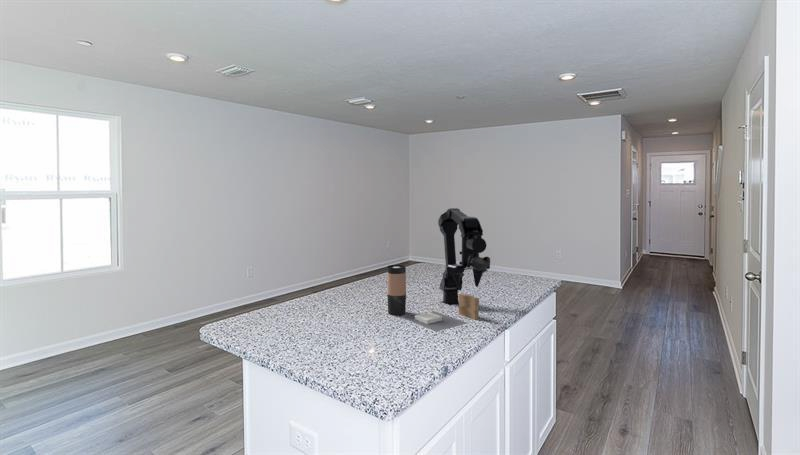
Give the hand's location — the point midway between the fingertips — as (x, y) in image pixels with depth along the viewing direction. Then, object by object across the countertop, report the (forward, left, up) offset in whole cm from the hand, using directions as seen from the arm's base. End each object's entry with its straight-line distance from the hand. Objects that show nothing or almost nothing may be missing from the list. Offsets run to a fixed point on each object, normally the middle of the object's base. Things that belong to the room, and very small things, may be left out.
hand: (468, 288), depth 169 cm
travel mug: (-21, -21, -12) cm, 32 cm away
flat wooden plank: (+1, -1, -12) cm, 12 cm away
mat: (-4, -15, -12) cm, 19 cm away
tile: (-6, -12, -11) cm, 17 cm away
